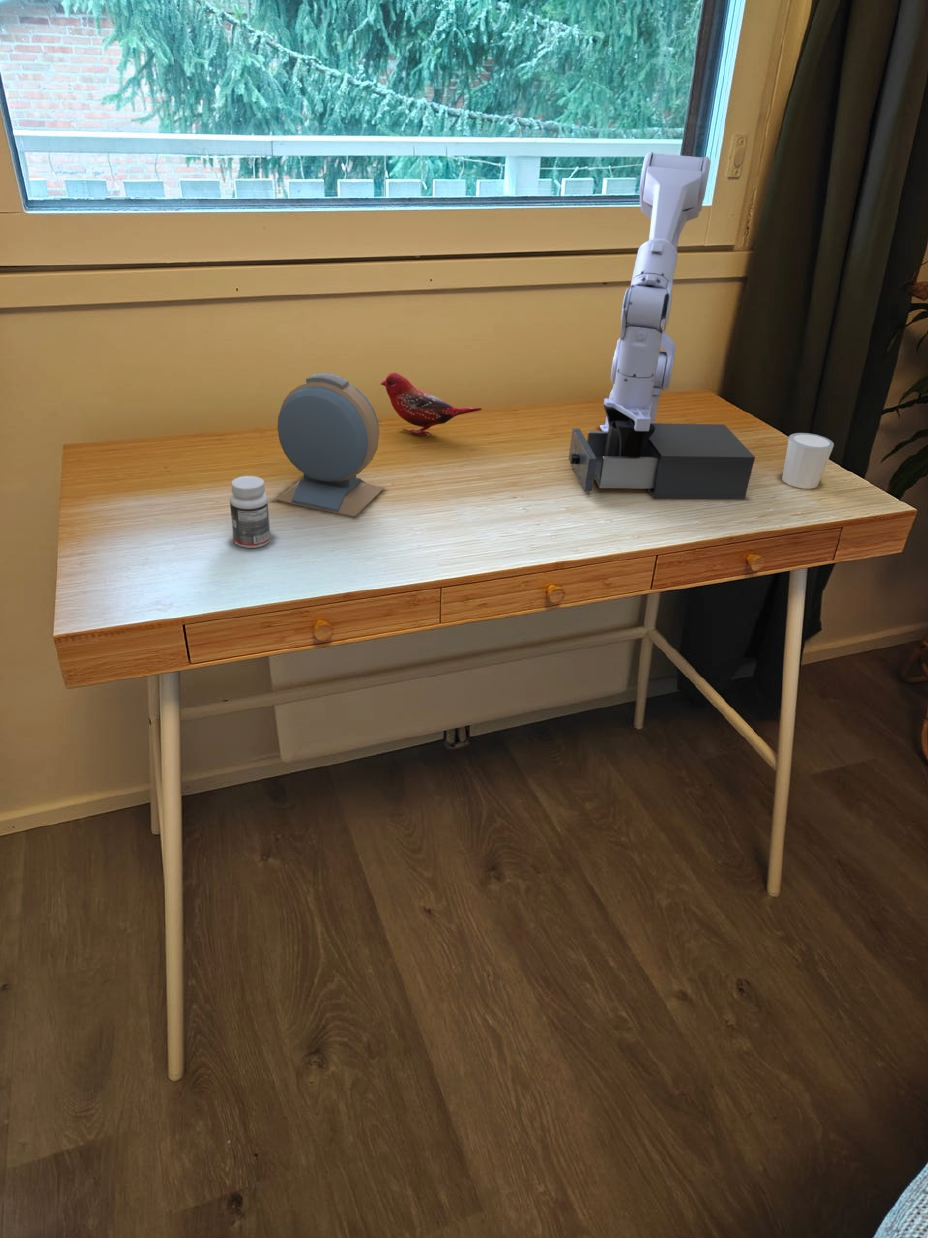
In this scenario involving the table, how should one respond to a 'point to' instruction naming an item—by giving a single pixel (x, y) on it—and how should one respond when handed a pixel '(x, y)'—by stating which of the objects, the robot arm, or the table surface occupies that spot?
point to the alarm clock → (329, 444)
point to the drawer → (610, 463)
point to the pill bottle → (249, 512)
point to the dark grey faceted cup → (613, 441)
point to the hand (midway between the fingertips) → (622, 458)
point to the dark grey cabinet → (700, 462)
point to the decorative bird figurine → (419, 404)
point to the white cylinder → (806, 459)
